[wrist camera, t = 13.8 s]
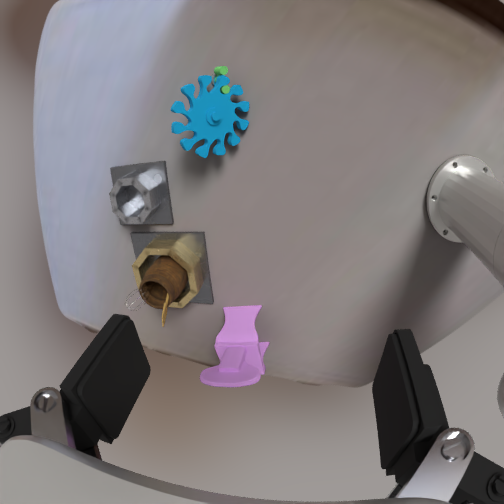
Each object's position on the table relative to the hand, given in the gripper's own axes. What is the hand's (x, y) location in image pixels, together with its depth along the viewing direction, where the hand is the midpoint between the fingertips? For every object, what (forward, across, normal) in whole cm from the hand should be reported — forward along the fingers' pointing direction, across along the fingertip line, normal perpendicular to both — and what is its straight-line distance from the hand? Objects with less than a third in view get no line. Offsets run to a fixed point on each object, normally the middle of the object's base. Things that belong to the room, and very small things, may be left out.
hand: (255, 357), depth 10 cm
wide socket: (+30, +18, +14) cm, 38 cm away
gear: (+31, +8, -8) cm, 33 cm away
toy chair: (+31, +7, +25) cm, 40 cm away
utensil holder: (+30, +18, +14) cm, 37 cm away
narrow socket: (+30, +21, +2) cm, 37 cm away
